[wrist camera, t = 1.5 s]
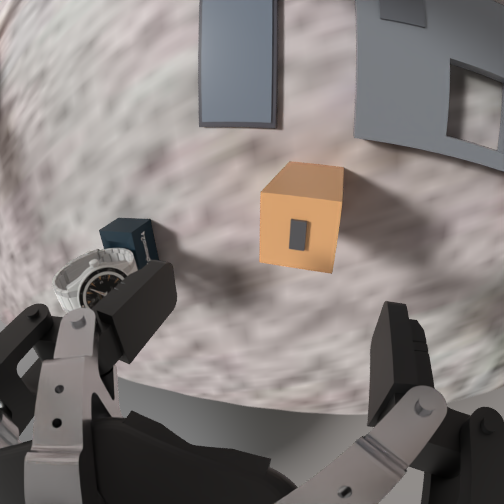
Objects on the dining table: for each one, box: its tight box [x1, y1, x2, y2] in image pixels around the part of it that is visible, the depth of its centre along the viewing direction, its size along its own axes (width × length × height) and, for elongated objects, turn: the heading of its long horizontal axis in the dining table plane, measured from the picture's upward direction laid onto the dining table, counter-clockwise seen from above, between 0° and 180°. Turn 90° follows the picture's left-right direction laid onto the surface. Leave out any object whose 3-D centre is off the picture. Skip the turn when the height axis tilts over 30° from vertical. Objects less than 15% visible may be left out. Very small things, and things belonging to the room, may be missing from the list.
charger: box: [259, 162, 344, 274], centre depth 18 cm, size 4×4×8 cm
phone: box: [198, 0, 278, 128], centre depth 18 cm, size 6×13×1 cm, turn 179°
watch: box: [52, 218, 159, 313], centre depth 25 cm, size 6×8×11 cm
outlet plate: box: [353, 0, 504, 172], centre depth 13 cm, size 13×13×2 cm
